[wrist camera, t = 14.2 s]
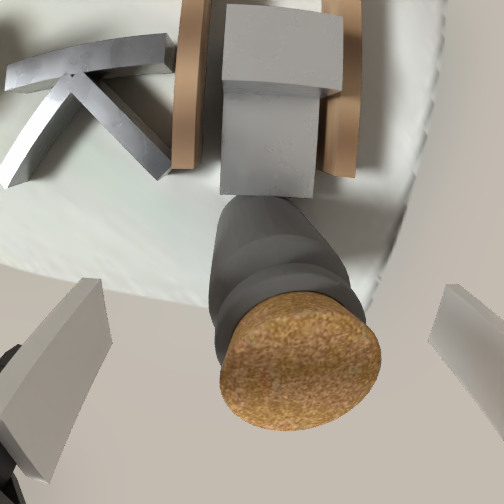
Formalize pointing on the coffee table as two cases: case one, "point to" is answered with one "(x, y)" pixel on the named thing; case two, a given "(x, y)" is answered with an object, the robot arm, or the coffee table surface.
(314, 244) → the bottle
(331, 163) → the parallel wooden rails
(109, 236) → the coffee table surface
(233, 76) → the grey stepped block
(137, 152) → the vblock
